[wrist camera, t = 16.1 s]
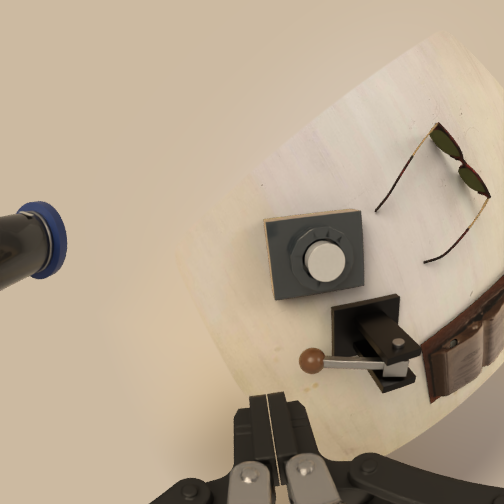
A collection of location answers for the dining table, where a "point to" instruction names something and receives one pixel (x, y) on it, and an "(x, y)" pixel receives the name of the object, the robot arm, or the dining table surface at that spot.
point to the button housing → (298, 242)
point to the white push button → (324, 261)
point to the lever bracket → (374, 337)
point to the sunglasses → (465, 171)
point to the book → (466, 344)
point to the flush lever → (348, 363)
